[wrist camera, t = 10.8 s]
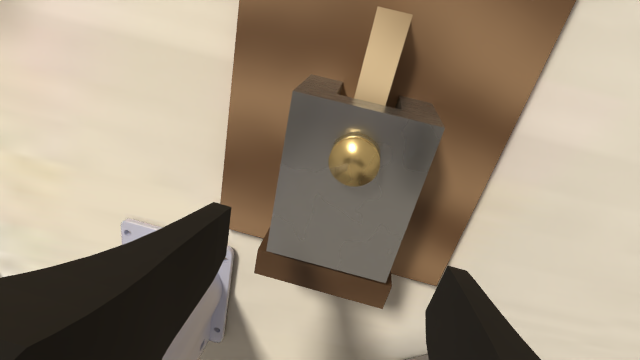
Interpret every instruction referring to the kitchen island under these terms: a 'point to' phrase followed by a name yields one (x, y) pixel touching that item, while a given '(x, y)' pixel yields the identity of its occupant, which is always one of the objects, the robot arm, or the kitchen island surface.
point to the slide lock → (350, 177)
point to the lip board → (384, 88)
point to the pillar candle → (419, 357)
